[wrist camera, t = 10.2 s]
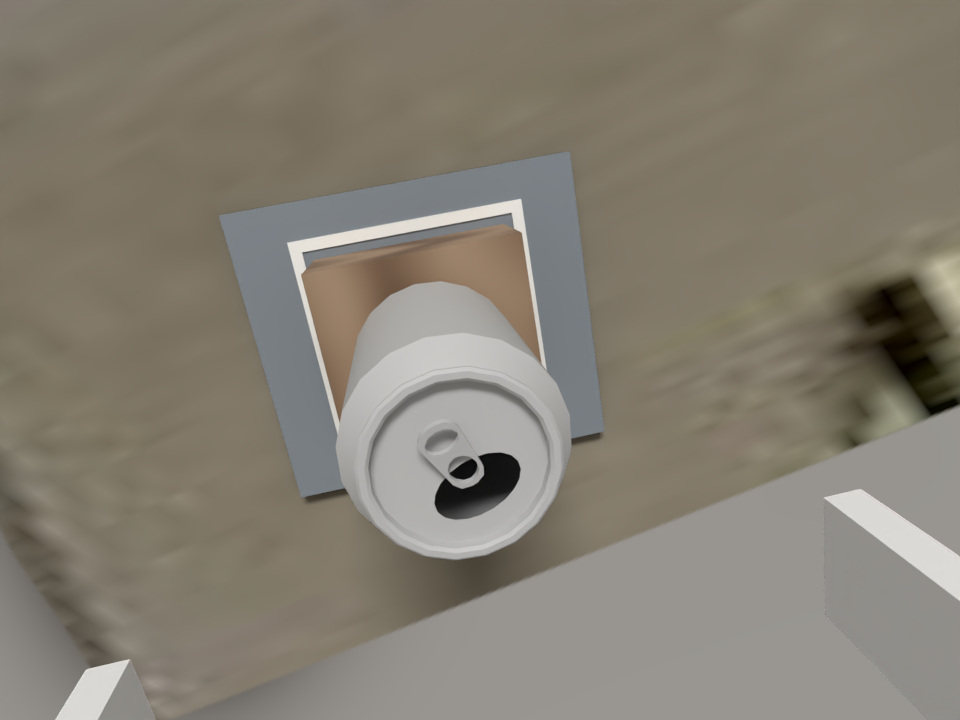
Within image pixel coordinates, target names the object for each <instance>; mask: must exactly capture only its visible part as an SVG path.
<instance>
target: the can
mask: <svg viewBox="0 0 960 720" xmlns="http://www.w3.org/2000/svg"><path fill="white" fill-rule="evenodd" d="M571 449H572V447H571V429H570V414H569V412H568V410H567V407H566V405H565V402H564V400H563V397H562V395H561V393H560V390H559V388H558V385H557V383H556V382H555V381H554V379H553V378H552V377H551V376H550V374H549V373H548V372H547V370H546V369H545V368H544V366H543V365H542V364H541V363H540V361H539V360H538V359H537V357H536V356H535V355H534V354H533V352H532V351H531V350H530V348H529V347H528V346H527V345H526V343H525V342H524V341H523V339H522V338H521V337H520V335H519V334H518V333H517V332H516V330H515V329H514V328H513V326H512V325H511V324H510V323H509V321H508V320H507V319H506V317H505V316H504V315H503V314H502V313H501V312H500V311H499V310H498V309H497V307H496V306H495V305H494V304H493V303H492V302H491V301H490V300H489V299H488V298H486V297H484V296H483V295H481V294H479V293H477V292H476V291H474V290H472V289H470V288H469V287H467V286H462V285H457V284H452V283H447V282H442V281H438V282H430V283H421V284H414V285H411V286H409V287H407V288H405V289H403V290H400V291H398V292H396V293H394V294H392V295H390V296H389V297H387V298H386V299H385V300H384V301H383V302H382V303H381V304H380V305H379V306H378V307H376V308H375V309H374V310H373V311H372V312H371V313H370V315H369V316H368V318H367V320H366V322H365V324H364V325H363V327H362V329H361V331H360V333H359V334H358V337H357V342H356V346H355V351H354V356H353V361H352V366H351V370H350V375H349V380H348V385H347V389H346V394H345V399H344V404H343V408H342V413H341V419H340V425H339V430H338V436H337V441H336V453H337V459H338V464H339V470H340V476H341V481H342V483H343V485H344V487H345V488H346V490H347V492H348V494H349V496H350V497H351V499H352V501H353V503H354V504H355V506H356V508H357V510H358V511H359V512H360V513H361V514H362V515H363V516H365V517H366V518H367V519H368V520H369V521H370V522H371V523H373V524H374V525H375V526H376V527H377V528H378V529H379V530H380V531H382V532H383V533H384V534H385V535H386V536H387V537H388V538H390V539H391V540H392V541H393V542H394V543H395V544H397V545H399V546H401V547H403V548H406V549H408V550H410V551H413V552H415V553H417V554H420V555H422V556H424V557H432V558H440V559H448V560H461V559H468V558H474V557H480V556H487V555H489V554H491V553H493V552H496V551H498V550H500V549H502V548H504V547H507V546H509V545H511V544H513V543H515V542H517V541H518V540H519V539H520V538H521V537H523V536H524V535H525V534H526V533H527V532H529V531H530V530H531V529H532V528H533V527H534V526H536V525H537V524H538V523H539V522H540V521H541V519H542V518H543V516H544V515H545V513H546V512H547V510H548V508H549V507H550V505H551V504H552V502H553V501H554V499H555V498H556V496H557V492H558V488H559V485H560V484H561V482H562V481H563V477H564V474H565V470H566V467H567V463H568V459H569V456H570V452H571Z"/></svg>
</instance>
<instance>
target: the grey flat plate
mask: <svg viewBox="0 0 960 720" xmlns="http://www.w3.org/2000/svg"><path fill="white" fill-rule="evenodd" d="M219 218H220V221H221V225H222V228H223V231H224V235H225V238H226V242H227V245H228V249H229V252H230V255H231V259H232V262H233V266H234V269H235V272H236V276H237V279H238V283H239V286H240V290H241V293H242V296H243V300H244V303H245V307H246V310H247V314H248V317H249V320H250V324H251V327H252V331H253V334H254V337H255V341H256V344H257V348H258V351H259V355H260V358H261V361H262V365H263V368H264V372H265V375H266V379H267V382H268V385H269V389H270V392H271V396H272V399H273V403H274V406H275V409H276V413H277V416H278V420H279V423H280V426H281V430H282V433H283V437H284V440H285V444H286V447H287V450H288V454H289V457H290V461H291V464H292V468H293V471H294V474H295V478H296V481H297V485H298V488H299V491H300V495H301V498H302V497H306V496H311V495H315V494H320V493H325V492H329V491H334V490H338V489H343V488H345V487H344V485H343V483H342V481H341V476H340V470H339V464H338V459H337V453H336V441H337V436H338V430H339V425H340V423H339V419H338V415H337V411H336V407H335V404H334V400H333V396H332V392H331V388H330V384H329V381H328V377H327V373H326V369H325V365H324V362H323V358H322V354H321V350H320V346H319V342H318V339H317V335H316V331H315V327H314V323H313V319H312V316H311V312H310V308H309V304H308V300H307V296H306V293H305V289H304V285H303V281H302V277H301V274H302V273H303V272H304V271H305V270H306V269H307V268H308V266H309V265H310V264H311V263H312V262H313V261H314V260H317V259H322V258H327V257H333V256H338V255H343V254H348V253H354V252H359V251H364V250H369V249H375V248H380V247H385V246H390V245H395V244H401V243H406V242H411V241H416V240H422V239H427V238H432V237H437V236H443V235H448V234H453V233H458V232H463V231H469V230H474V229H479V228H484V227H490V226H495V225H500V224H505V225H507V226H509V227H511V228H513V229H515V230H517V231H520V232H522V237H523V244H524V251H525V257H526V264H527V270H528V277H529V284H530V290H531V297H532V303H533V310H534V317H535V323H536V330H537V336H538V343H539V349H540V356H541V363H542V365H543V366H544V368H545V369H546V370H547V372H548V373H549V374H550V376H551V377H552V378H553V379H554V381H555V382H556V383H557V385H558V388H559V390H560V393H561V395H562V397H563V400H564V402H565V405H566V407H567V410H568V412H569V414H570V429H571V439H572V438H576V437H581V436H586V435H590V434H595V433H599V432H604V423H603V415H602V407H601V399H600V391H599V383H598V375H597V367H596V359H595V351H594V343H593V335H592V327H591V319H590V310H589V302H588V294H587V286H586V278H585V270H584V262H583V254H582V246H581V238H580V230H579V222H578V214H577V206H576V198H575V189H574V181H573V173H572V165H571V157H570V151H568V152H561V153H556V154H551V155H545V156H540V157H534V158H529V159H523V160H518V161H512V162H507V163H502V164H496V165H491V166H485V167H480V168H474V169H469V170H463V171H458V172H453V173H447V174H442V175H436V176H431V177H425V178H420V179H414V180H409V181H404V182H398V183H393V184H387V185H382V186H376V187H371V188H365V189H360V190H354V191H349V192H344V193H338V194H333V195H327V196H322V197H316V198H311V199H305V200H300V201H295V202H289V203H284V204H278V205H273V206H267V207H262V208H256V209H251V210H246V211H240V212H235V213H229V214H224V215H220V216H219Z"/></svg>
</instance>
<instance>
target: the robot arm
mask: <svg viewBox="0 0 960 720" xmlns="http://www.w3.org/2000/svg"><path fill="white" fill-rule="evenodd" d="M824 575H825V576H824V578H825V615H826V616H827V617H828V618H829V619H830V620H831V622H832V623H834V625H836V627H837V628H838V629H839V630H840V631H841V632H842V633H843V634H844V635H845V636H846V637H847V638H848V639H849V640H850V641H851V642H852V643H853V644H854V645H855V646H856V647H857V648H858V649H859V650H860V651H861V652H862V653H863V654H864V655H865V656H866V657H867V659H868V660H869V661H870V662H871V663H872V664H873V665H874V666H875V667H876V668H877V669H878V670H879V671H880V672H881V673H882V674H883V675H884V676H885V677H886V678H887V679H888V680H889V681H890V682H891V683H892V684H893V685H894V686H895V687H896V688H897V689H898V690H899V691H900V692H901V693H902V695H903V696H904V697H905V698H906V699H907V700H908V701H909V702H910V703H911V704H912V705H913V706H914V707H915V708H916V709H917V710H918V711H919V712H920V713H921V714H922V715H923V716H924V717H925V718H926V719H927V720H960V556H958V555H957V554H955V553H954V552H952V551H951V550H950V549H948V548H946V547H945V546H944V545H942V544H941V543H939V542H938V541H936V540H935V539H934V538H932V537H930V536H929V535H927V534H926V533H925V532H923V531H922V530H920V529H919V528H917V527H916V526H914V525H913V524H911V523H910V522H909V521H907V520H906V519H904V518H903V517H901V516H900V515H898V514H897V513H895V512H894V511H892V510H891V509H889V508H888V507H887V506H885V505H883V504H882V503H881V502H879V501H877V500H876V499H875V498H873V497H872V496H870V495H869V494H867V493H866V492H864V491H863V490H862V489H858V490H854V491H850V492H845V493H841V494H837V495H833V496H828V497H824ZM55 720H156V719H155V716H154V714H153V712H152V709H151V707H150V705H149V702H148V700H147V697H146V695H145V693H144V690H143V688H142V686H141V683H140V681H139V679H138V676H137V674H136V671H135V669H134V667H133V664H132V662H131V660H130V659H129V660H125V661H120V662H116V663H112V664H107V665H103V666H99V667H95V668H90V669H86V671H85V672H84V674H83V676H82V677H81V679H80V680H79V682H78V684H77V685H76V687H75V688H74V690H73V692H72V694H71V695H70V697H69V698H68V700H67V702H66V703H65V705H64V706H63V708H62V710H61V711H60V713H59V714H58V716H57V718H56V719H55Z"/></svg>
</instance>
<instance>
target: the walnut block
mask: <svg viewBox="0 0 960 720" xmlns="http://www.w3.org/2000/svg"><path fill="white" fill-rule="evenodd" d="M301 277H302V281H303V285H304V289H305V293H306V296H307V300H308V304H309V308H310V312H311V316H312V319H313V323H314V327H315V331H316V335H317V339H318V342H319V346H320V350H321V354H322V358H323V362H324V365H325V369H326V373H327V377H328V381H329V384H330V388H331V392H332V396H333V400H334V404H335V407H336V411H337V415H338V419H339V423H340V419H341V413H342V408H343V404H344V399H345V394H346V389H347V385H348V380H349V375H350V370H351V366H352V361H353V356H354V351H355V346H356V342H357V337H358V334H359V333H360V331H361V329H362V327H363V325H364V324H365V322H366V320H367V318H368V316H369V315H370V313H371V312H372V311H373V310H374V309H375V308H376V307H378V306H379V305H380V304H381V303H382V302H383V301H384V300H385V299H386V298H387V297H389V296H390V295H392V294H394V293H396V292H398V291H400V290H403V289H405V288H407V287H409V286H411V285H414V284H421V283H430V282H438V281H442V282H447V283H452V284H457V285H462V286H467V287H469V288H470V289H472V290H474V291H476V292H477V293H479V294H481V295H483V296H484V297H486V298H488V299H489V300H490V301H491V302H492V303H493V304H494V305H495V306H496V307H497V309H498V310H499V311H500V312H501V313H502V314H503V315H504V316H505V317H506V319H507V320H508V321H509V323H510V324H511V325H512V326H513V328H514V329H515V330H516V332H517V333H518V334H519V335H520V337H521V338H522V339H523V341H524V342H525V343H526V345H527V346H528V347H529V348H530V350H531V351H532V352H533V354H534V355H535V356H536V357H537V359H538V360H539V361H540V363H541V356H540V349H539V343H538V336H537V330H536V323H535V317H534V310H533V303H532V297H531V290H530V284H529V277H528V270H527V264H526V257H525V251H524V244H523V237H522V232H520V231H517V230H515V229H513V228H511V227H509V226H507V225H505V224H500V225H495V226H490V227H484V228H479V229H474V230H469V231H463V232H458V233H453V234H448V235H443V236H437V237H432V238H427V239H422V240H416V241H411V242H406V243H401V244H395V245H390V246H385V247H380V248H375V249H369V250H364V251H359V252H354V253H348V254H343V255H338V256H333V257H327V258H322V259H317V260H314V261H313V262H312V263H311V264H310V265H309V266H308V268H307V269H306V270H305V271H304V272H303V273H302V274H301ZM541 364H542V363H541Z"/></svg>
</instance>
